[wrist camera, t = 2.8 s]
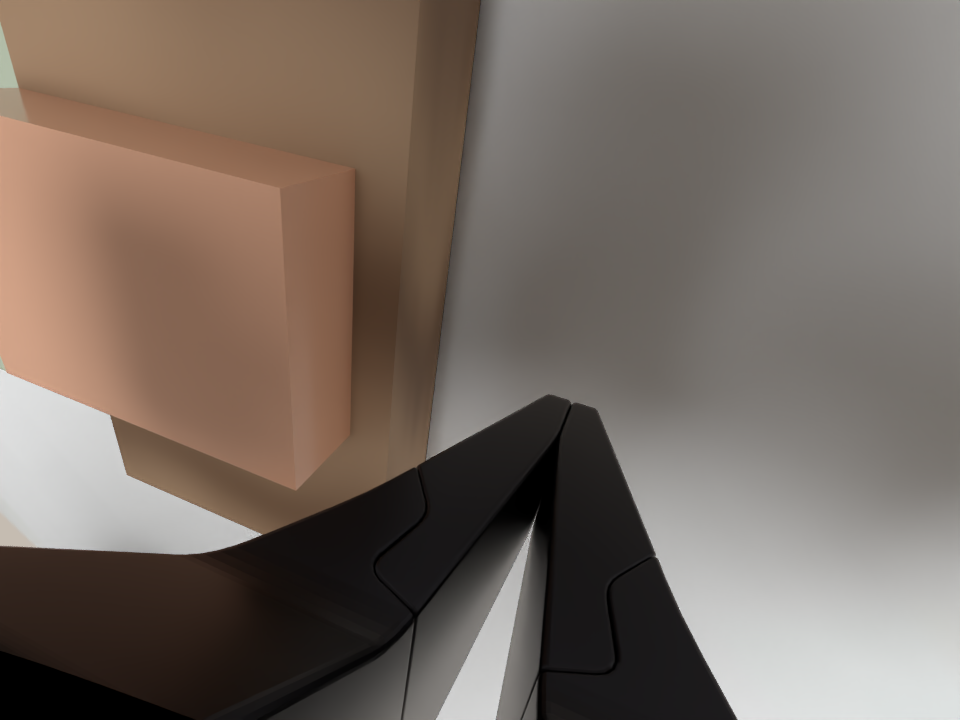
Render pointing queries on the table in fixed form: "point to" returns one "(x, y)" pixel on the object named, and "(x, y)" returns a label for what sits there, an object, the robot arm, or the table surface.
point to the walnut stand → (311, 133)
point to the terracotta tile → (178, 281)
